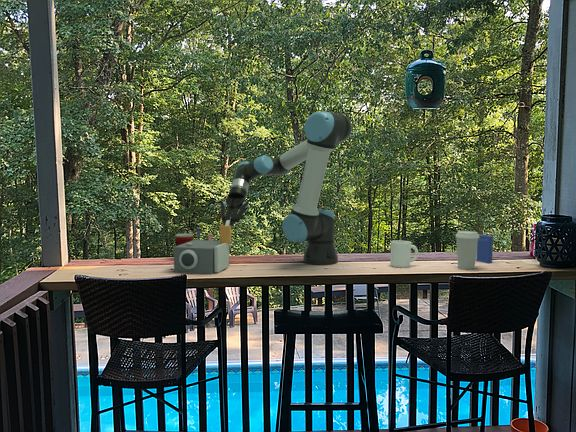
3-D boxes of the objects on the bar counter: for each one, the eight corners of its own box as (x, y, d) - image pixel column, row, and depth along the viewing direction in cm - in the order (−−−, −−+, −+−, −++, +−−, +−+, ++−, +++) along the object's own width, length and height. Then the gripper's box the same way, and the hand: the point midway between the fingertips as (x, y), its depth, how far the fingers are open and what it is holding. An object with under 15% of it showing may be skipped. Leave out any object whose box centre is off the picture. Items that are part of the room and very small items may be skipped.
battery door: (231, 266, 231) (231, 225, 230) (220, 272, 219) (220, 229, 217) (221, 265, 232) (221, 225, 231) (209, 271, 220) (209, 229, 218)
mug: (414, 263, 242) (415, 240, 241) (421, 267, 233) (422, 243, 232) (387, 264, 240) (388, 240, 239) (394, 268, 232) (394, 243, 231)
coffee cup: (449, 266, 235) (450, 231, 234) (467, 265, 239) (468, 230, 237) (464, 270, 226) (466, 234, 225) (483, 269, 230) (484, 233, 229)
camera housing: (229, 264, 237) (229, 239, 236) (210, 275, 216) (210, 247, 215) (194, 262, 241) (193, 238, 240) (172, 272, 220) (171, 245, 219)
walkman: (492, 262, 245) (493, 235, 244) (488, 263, 244) (489, 235, 242) (476, 259, 251) (477, 233, 250) (472, 260, 250) (473, 233, 248)
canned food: (197, 258, 251) (196, 234, 250) (182, 261, 245) (182, 236, 244) (186, 256, 256) (186, 232, 255) (172, 259, 250) (171, 234, 249)
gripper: (254, 197, 247) (242, 240, 233) (226, 196, 251) (213, 239, 236) (250, 186, 242) (238, 229, 227) (222, 185, 245) (208, 228, 231)
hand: (225, 234), depth 232 cm, fingers closed
